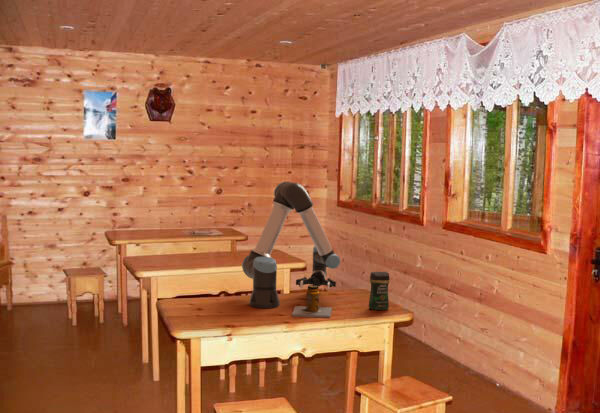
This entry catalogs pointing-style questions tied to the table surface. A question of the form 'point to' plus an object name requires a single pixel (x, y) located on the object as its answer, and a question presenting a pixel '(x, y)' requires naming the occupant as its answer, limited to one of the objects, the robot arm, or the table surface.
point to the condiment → (312, 300)
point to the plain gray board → (323, 314)
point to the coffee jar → (379, 291)
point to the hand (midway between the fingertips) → (314, 286)
